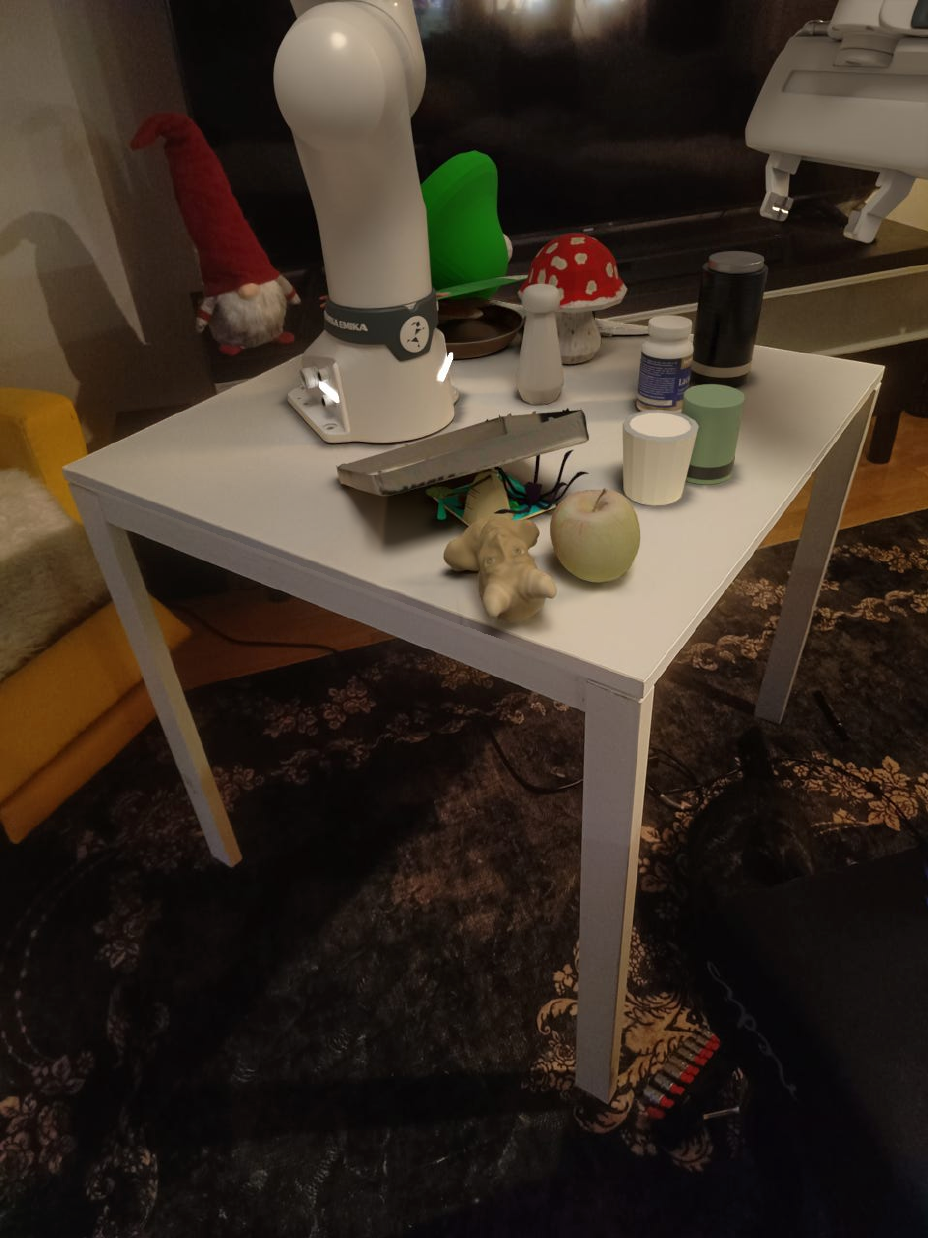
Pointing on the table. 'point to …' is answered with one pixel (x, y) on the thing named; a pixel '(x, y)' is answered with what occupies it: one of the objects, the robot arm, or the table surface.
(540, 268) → the decorative mushroom
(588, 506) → the fruit
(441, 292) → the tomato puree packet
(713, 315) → the flask
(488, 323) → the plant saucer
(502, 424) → the decorative tile
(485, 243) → the toy
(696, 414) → the green cylinder
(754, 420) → the table surface
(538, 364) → the salt shaker
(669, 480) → the white cup
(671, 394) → the pill bottle
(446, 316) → the stone tool
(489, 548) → the beige knobby lump
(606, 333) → the pocket knife
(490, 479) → the diorama
